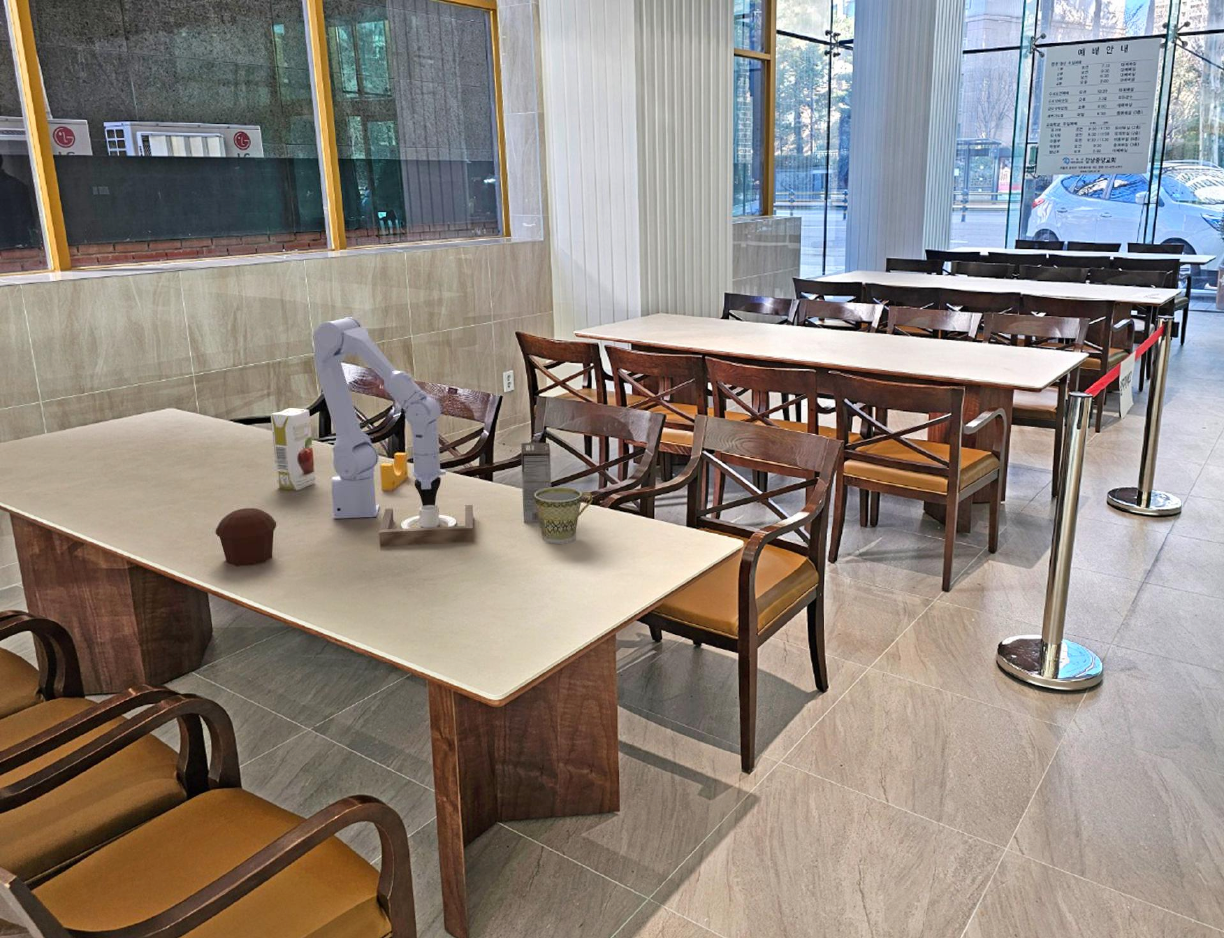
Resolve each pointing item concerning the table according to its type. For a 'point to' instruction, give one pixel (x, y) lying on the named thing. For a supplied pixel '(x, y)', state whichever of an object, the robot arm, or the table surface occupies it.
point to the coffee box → (534, 476)
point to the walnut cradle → (425, 532)
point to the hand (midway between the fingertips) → (429, 510)
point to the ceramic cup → (559, 512)
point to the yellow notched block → (394, 472)
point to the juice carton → (293, 448)
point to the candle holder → (428, 518)
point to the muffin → (247, 536)
